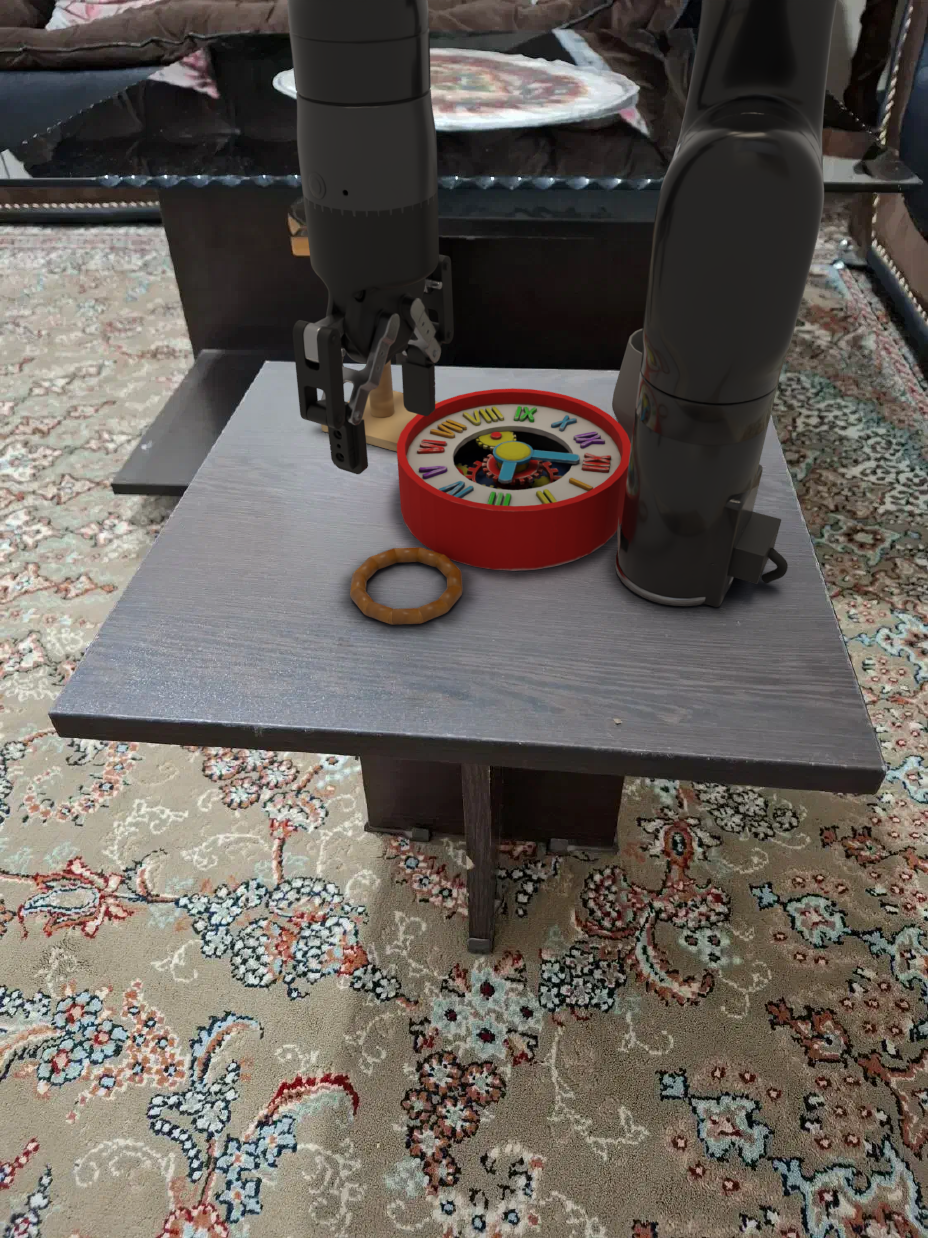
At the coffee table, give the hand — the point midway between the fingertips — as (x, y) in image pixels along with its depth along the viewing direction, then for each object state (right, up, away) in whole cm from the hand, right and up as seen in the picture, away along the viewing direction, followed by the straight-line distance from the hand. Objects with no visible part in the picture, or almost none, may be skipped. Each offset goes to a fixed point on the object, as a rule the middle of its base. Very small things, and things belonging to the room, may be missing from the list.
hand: (387, 438), depth 60 cm
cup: (+24, +5, +27) cm, 37 cm away
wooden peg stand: (-3, +8, +31) cm, 32 cm away
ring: (+1, -9, +10) cm, 14 cm away
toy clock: (+9, -2, +20) cm, 22 cm away
